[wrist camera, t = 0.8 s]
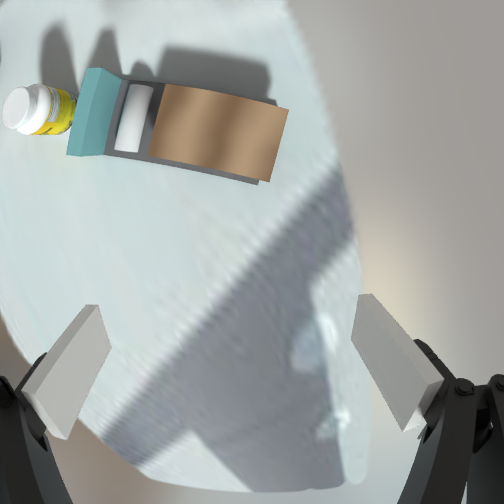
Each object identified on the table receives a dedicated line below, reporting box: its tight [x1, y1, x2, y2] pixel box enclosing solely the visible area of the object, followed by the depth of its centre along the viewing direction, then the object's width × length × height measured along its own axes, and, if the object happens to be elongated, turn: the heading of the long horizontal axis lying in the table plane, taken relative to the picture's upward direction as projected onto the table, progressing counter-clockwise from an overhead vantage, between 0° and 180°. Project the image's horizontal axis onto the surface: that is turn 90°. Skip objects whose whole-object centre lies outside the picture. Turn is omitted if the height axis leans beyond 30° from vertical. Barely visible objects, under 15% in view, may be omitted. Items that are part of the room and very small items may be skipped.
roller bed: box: [66, 68, 259, 185], centre depth 27 cm, size 22×10×7 cm, turn 75°
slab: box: [148, 84, 289, 182], centre depth 27 cm, size 13×8×2 cm, turn 75°
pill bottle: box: [2, 84, 78, 135], centre depth 23 cm, size 6×6×11 cm
